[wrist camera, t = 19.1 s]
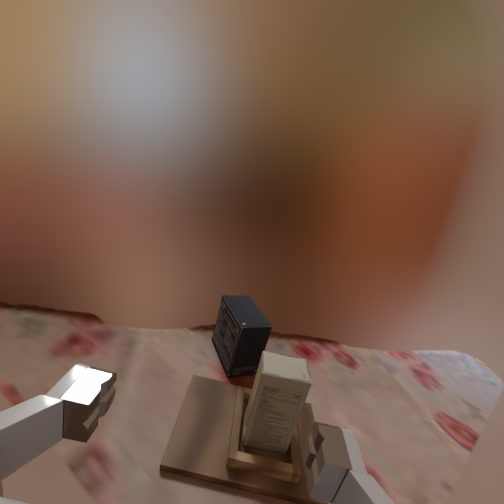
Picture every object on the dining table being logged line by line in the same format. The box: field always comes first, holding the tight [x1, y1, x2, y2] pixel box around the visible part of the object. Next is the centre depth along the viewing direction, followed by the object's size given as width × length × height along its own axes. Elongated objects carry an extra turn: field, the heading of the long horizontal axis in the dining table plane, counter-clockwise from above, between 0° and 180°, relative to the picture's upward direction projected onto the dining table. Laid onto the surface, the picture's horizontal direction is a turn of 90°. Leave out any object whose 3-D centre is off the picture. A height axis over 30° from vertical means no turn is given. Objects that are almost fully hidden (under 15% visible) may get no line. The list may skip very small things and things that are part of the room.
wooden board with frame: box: [160, 375, 328, 504], centre depth 38 cm, size 20×14×2 cm
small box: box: [212, 295, 272, 377], centre depth 51 cm, size 11×6×10 cm, turn 24°
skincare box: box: [242, 351, 312, 453], centre depth 36 cm, size 6×4×12 cm
